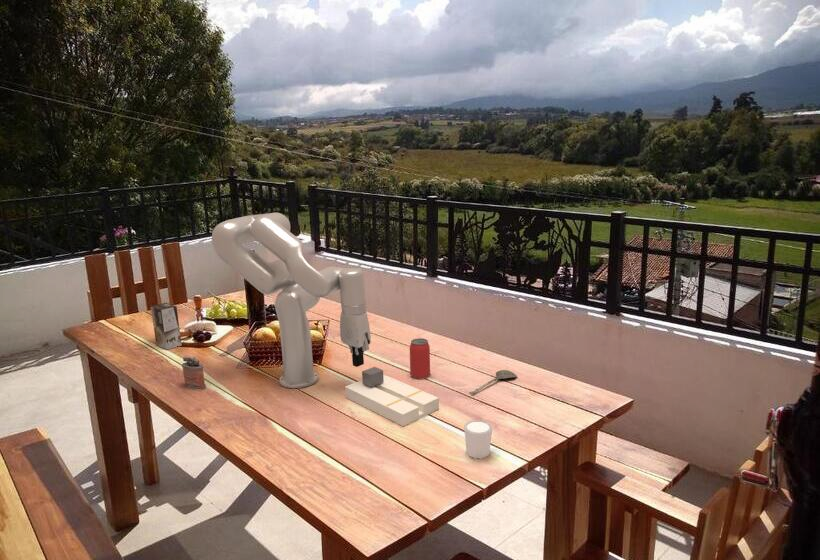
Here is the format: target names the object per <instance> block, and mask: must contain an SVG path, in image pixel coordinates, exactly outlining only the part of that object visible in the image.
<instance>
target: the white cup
mask: <svg viewBox="0 0 820 560" xmlns="http://www.w3.org/2000/svg"><path fill="white" fill-rule="evenodd" d="M463 430H464V431H463V432H464V439H465V440H464V441H465V448H466V454H467V456H468V455H469V457H470V456H471V458H472V457H474V458H473V459H477V458H481V459H484V458H483V457H485V458H487V457H489V455H490V450H491V444H492V443H491V440H492V432H493V427H492V425H491V423H489V422H487V421H485V420H470V421H468V422H466V423H465V424H464V427H463ZM486 456H487V457H486Z"/></svg>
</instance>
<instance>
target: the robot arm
mask: <svg viewBox="0 0 820 560" xmlns="http://www.w3.org/2000/svg"><path fill="white" fill-rule="evenodd" d="M254 241H255V242H258V243H259V244H261V245H262V246H263V247H264V248H266V249H267V250H268V251H270V253H272V254H273V255H274V256H276V257H277V258H278V260H274V261H271V262H269V261H267V260H265V258H263V257H262V256H260V254H258V252H255V251H254V250H253V249H250V248H248V247H246V246H244V244H247V243H251V242H254ZM211 243H212V247H213V249H214V252H215V253H216V255H217V256H218V258H219V259H221V261H222V262H224V263H225V264H226V265H227V266H229V267H231V268H232V269H233V270H234V271H236V272H237V274H239V275H241V277H242V278H243V279H244V280H245V281H247V282H248V283H249V284H250V285H251V286H253V287H254V288H255V289H256V290H257V291H259V292H260V293H262V294H264V295H272V294H275V293H277V292H279V291H280V292H279V293H278V294H277V296H276V297H275V299H274V309H275V312H276V316H277V320H278V326H279V335H280V336H279V337H280V347H281V357H282V364H281V366H280V370H281V369H282V370H283V374H282V375H281V376H280V377H279V378H278V379H279V384H280V385H281V386H282V387H285V388H288V389H301V388H307V387H309V386H312V385H314V384H316V383H317V382H318V381H319V379H320V376H319V373H318V372H316V371H314V360H313V347H312V345H313V344H312V333H311V325H310V321H309V319H308V317H307V314H306V313H307V312H308V311H310V310H311V309H312V308H314V307H315V306H316V305H317V304H319V302H320V299H321V298H325V297H327V296H328V295H330V294H332V293H334V292H337V291H339V296H340V308H341V312H340V317H339V334H340V342H341V343H343V344H345V345H347V346H348V347H349V349H350V350H349V352H350V354H351V359H352V366H354V367H356V368H357V367H361V366H362V365H364V364H365V359H364V353H365V352H366V351H369V350H370V346H369V345H370V344H371V342H372V338H371V337H372V336H371V328H370V327H371V326H370V322H369V318H368V314H367V302H366V290H365V277H364V270H362V268H358V267H357V268H356V267H350V268H349V267H348V268H345V267H341V266H340V267H339V266H328V267H326V268H323V269H321V270H319V271H318V270H317V269H315V267H313V266H312V265H310V263H308V261H307V260H306V259H305V257H304V256H303V249H304V242H303V241H302V240H301V239H300V238H298V237H297V236H296V235H295V234H293V233H292V232H291V221H290V220H289V218H287V216H285V214H283V213H280V212H271V213H262V214H250V215H244V216H241V217H235V218H232V219H227V220H225V221H222V222H220V223H218V224H217V225H216V226H215V227H214V228H213V230H212V233H211Z"/></svg>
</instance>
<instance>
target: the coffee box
mask: <svg viewBox="0 0 820 560" xmlns="http://www.w3.org/2000/svg"><path fill="white" fill-rule="evenodd" d="M177 307H178V306H176V305H174V304H171V303H168V302H163V303H160V304H155V305H152V306H150V311H151V318H152V319H151V320H152V324H153V331H154V337H155V338H154V339H155V344H156V346H157V345H158V347H160V348H162V349H165V350H167V351H168V350H170V349H174V348H177V346H178V347H181V346H182V345H183V344H182V336H181V331H180V324H179V314H178V308H177Z"/></svg>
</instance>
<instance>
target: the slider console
mask: <svg viewBox="0 0 820 560" xmlns="http://www.w3.org/2000/svg"><path fill="white" fill-rule="evenodd" d="M383 379H384V382H383V383H381V384H378V385H376V387H369V386H367V385H364V384H363V382H362V380H359V381H355V382H353V383H350V384H348V385H345V386H344V393H345V395H344V396H345V398H347V399H348V400H350V401H352V402H354V403H356V404H358V405H360V406H361V407H364V408H366V409H368V410H370V411H372V412H373V413H374V412H375V413H376V414H378V415H380V416H382V417H384V418H386V419H388V420H390V421H392V422H393V423H396V424H397V425H400V426H401V427H404V426H407V425H409V424H411V423H412V422H415V421H417V420H419V419H421V418H423V417H425V416H428V415H430V414H432V413H433V412H435V411H438V410H440V399H439V397H438V396H435V395H433V394H431V393H428V392H426V391H424V390H421V389H419V388H416V387H414V386H412V385H410V384H407V383H404V382H402V381H400V380H398V379H395V378H393V377H390V376H388V375H386V374H384V373H383Z"/></svg>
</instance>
